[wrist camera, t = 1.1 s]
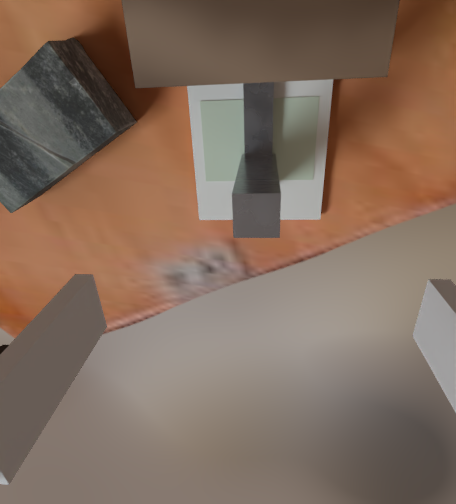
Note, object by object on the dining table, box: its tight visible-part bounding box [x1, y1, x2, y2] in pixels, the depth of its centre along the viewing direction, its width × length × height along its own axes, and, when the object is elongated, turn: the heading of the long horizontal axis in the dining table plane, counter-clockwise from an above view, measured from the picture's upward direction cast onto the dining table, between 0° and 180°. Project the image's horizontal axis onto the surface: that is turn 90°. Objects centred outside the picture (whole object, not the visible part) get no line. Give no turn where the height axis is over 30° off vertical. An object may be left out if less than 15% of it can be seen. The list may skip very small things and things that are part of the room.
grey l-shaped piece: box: [232, 82, 281, 238], centre depth 23 cm, size 16×5×11 cm, turn 3°
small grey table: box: [122, 0, 400, 88], centre depth 22 cm, size 9×15×10 cm, turn 93°
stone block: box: [0, 38, 137, 213], centre depth 30 cm, size 9×14×5 cm, turn 123°
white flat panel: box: [187, 79, 333, 220], centre depth 28 cm, size 27×12×1 cm, turn 3°
